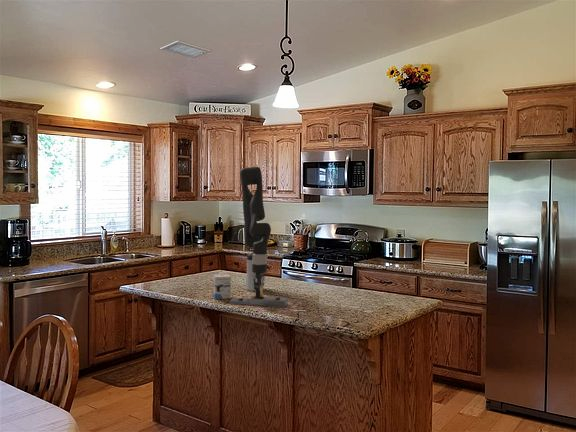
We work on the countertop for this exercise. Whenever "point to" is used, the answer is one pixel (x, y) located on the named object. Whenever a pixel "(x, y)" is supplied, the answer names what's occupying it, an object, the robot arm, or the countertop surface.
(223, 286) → the ink box
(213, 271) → the countertop surface
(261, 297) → the link pin
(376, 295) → the countertop surface
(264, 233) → the robot arm
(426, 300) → the countertop surface
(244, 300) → the link plates
